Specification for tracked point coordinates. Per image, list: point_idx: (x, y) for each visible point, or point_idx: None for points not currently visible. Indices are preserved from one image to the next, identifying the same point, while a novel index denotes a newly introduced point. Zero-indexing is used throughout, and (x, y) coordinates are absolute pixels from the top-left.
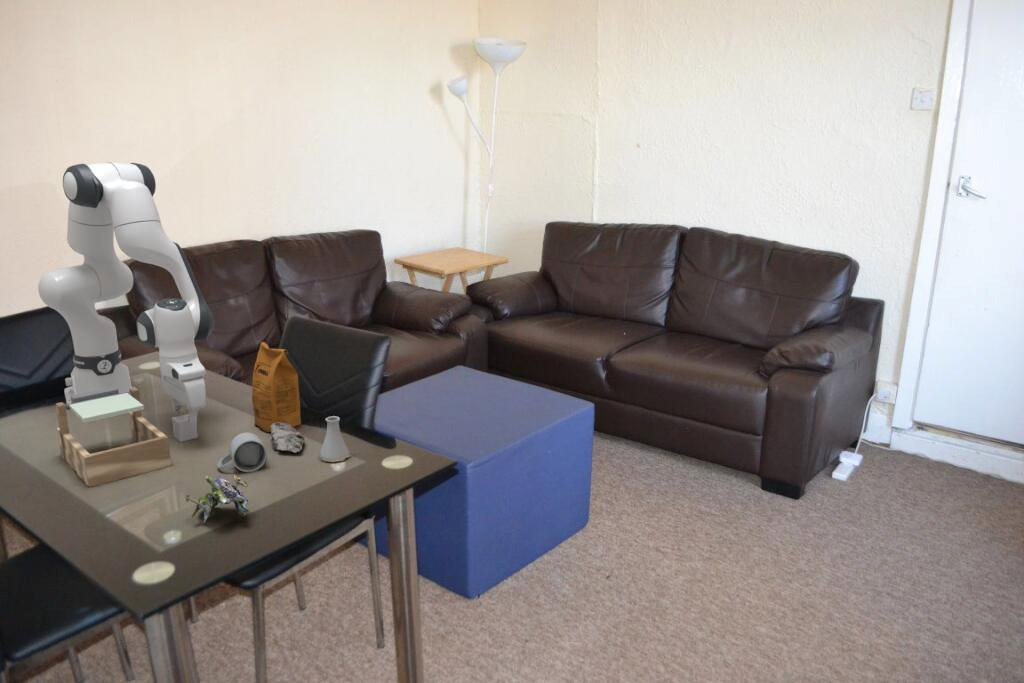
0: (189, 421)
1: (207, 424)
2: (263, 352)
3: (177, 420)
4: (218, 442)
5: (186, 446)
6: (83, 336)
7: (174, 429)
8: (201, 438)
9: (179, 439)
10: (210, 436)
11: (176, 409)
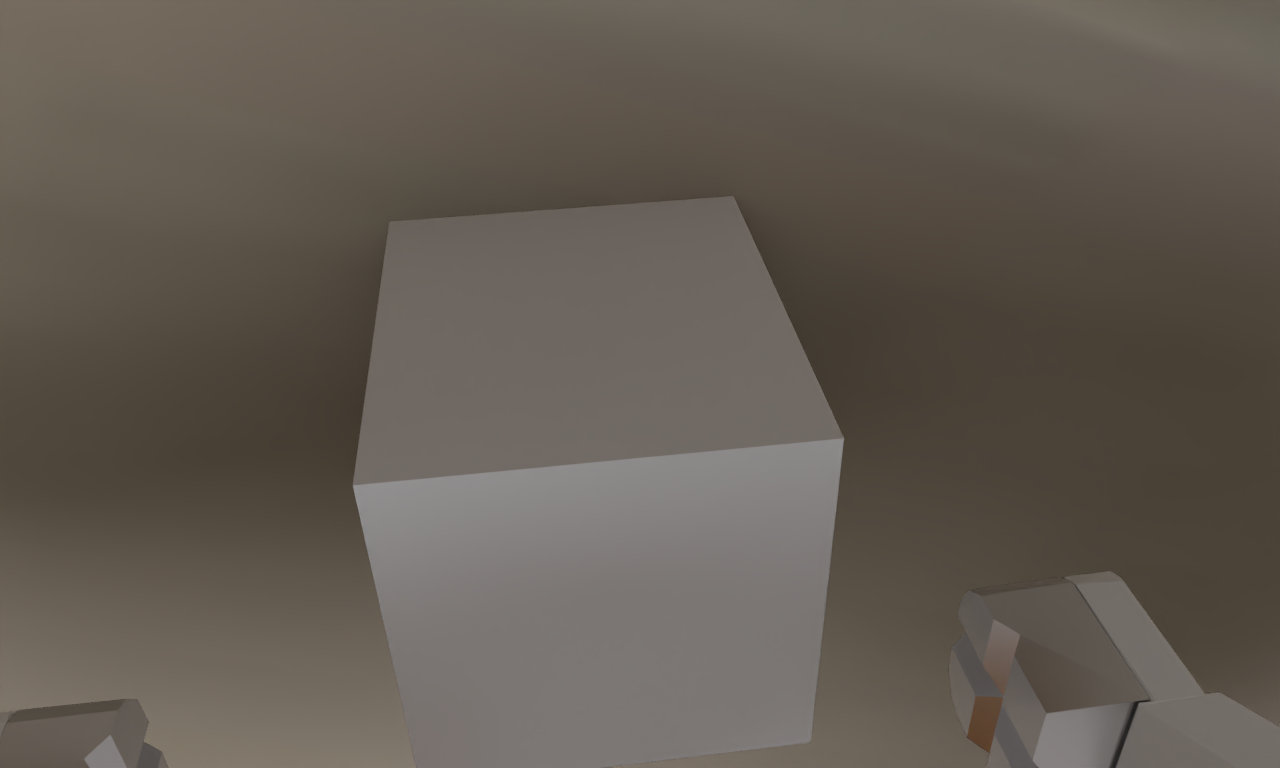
0: (25, 721)
1: (867, 673)
2: None
3: (538, 499)
4: (30, 654)
5: (66, 246)
6: None
7: (691, 289)
8: (352, 517)
9: (434, 234)
10: (364, 621)
11: (1013, 675)
